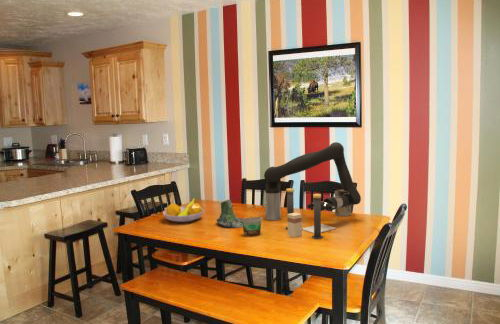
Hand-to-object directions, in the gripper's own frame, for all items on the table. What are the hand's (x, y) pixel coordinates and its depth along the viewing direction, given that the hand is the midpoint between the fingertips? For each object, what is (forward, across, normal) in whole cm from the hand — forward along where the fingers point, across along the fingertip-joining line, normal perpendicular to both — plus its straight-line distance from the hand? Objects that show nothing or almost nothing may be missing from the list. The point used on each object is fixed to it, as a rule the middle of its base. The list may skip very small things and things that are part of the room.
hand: (313, 207), depth 236 cm
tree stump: (+27, -42, +13) cm, 52 cm away
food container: (+31, -16, +13) cm, 37 cm away
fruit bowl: (+45, -73, +12) cm, 86 cm away
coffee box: (-39, -14, +14) cm, 44 cm away
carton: (+14, 0, +13) cm, 19 cm away
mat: (-4, 0, +13) cm, 14 cm away
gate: (+7, 0, +13) cm, 15 cm away
